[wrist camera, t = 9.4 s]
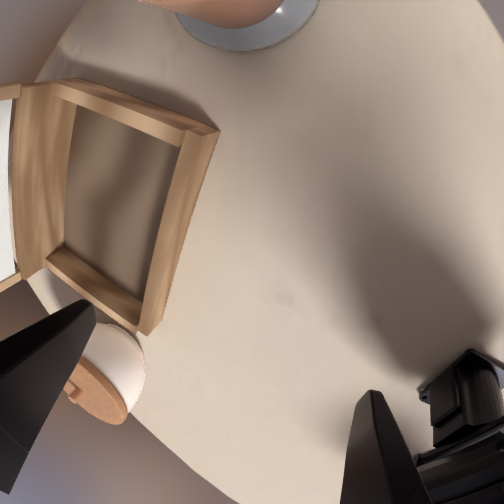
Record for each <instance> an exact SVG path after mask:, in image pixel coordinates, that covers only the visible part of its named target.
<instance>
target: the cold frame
mask: <svg viewBox="0 0 504 504" xmlns="http://www.w3.org/2000/svg"><path fill="white" fill-rule="evenodd" d="M219 134H220V131H219V130H217V129H214V128H212V127H210V126H207V125H205V124H203V123H200V122H198V121H195V120H193V119H191V118H188V117H186V116H183V115H181V114H178V113H176V112H173V111H171V110H168V109H166V108H163V107H160V106H158V105H155V104H153V103H150V102H147V101H144V100H142V99H139V98H136V97H133V96H131V95H128V94H125V93H122V92H119V91H116V90H113V89H110V88H107V87H104V86H101V85H98V84H95V83H92V82H89V81H86V80H83V79H79V78H72V79H62V80H53V81H45V82H38V83H31V84H25V85H21V89H20V96H19V98H17V100H16V108H15V119H14V129H13V145H12V211H13V227H14V238H15V248H16V257H17V265H18V270H19V271H20V273H21V277H22V278H23V279H24V280H26V279H27V278H29V277H30V276H32V275H33V274H34V273H36V272H37V271H39V270H40V269H42V268H43V267H45V266H46V267H47V268H48V269H50V270H51V271H52V272H53V273H54V274H56V275H57V276H58V277H59V278H61V279H62V280H63V281H64V282H65V283H67V284H68V285H69V286H70V287H72V288H73V289H74V290H76V291H77V292H78V293H79V294H81V295H82V296H83V297H85V298H86V299H87V300H88V301H90V302H91V303H93V304H94V305H95V306H96V307H98V308H99V309H100V310H102V311H103V312H105V313H106V314H107V315H109V316H110V317H111V318H113V319H114V320H116V321H117V322H118V323H120V324H121V325H123V326H124V327H126V328H127V329H129V330H130V331H131V332H133V333H134V334H135V333H136V332H137V331H140V332H141V333H143V334H144V335H146V336H148V335H149V334H150V333H151V332H152V331H153V329H154V328H155V327H156V326H157V325H158V324H159V323H160V322H161V321H162V317H163V314H164V310H165V306H166V302H167V299H168V295H169V291H170V288H171V284H172V280H173V277H174V273H175V270H176V266H177V263H178V259H179V256H180V253H181V249H182V246H183V243H184V239H185V236H186V233H187V229H188V226H189V223H190V220H191V217H192V213H193V210H194V207H195V204H196V201H197V198H198V195H199V192H200V189H201V186H202V183H203V180H204V177H205V174H206V171H207V168H208V165H209V162H210V159H211V156H212V154H213V151H214V148H215V145H216V142H217V139H218V137H219Z"/></svg>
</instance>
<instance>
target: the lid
mask: <svg viewBox="0 0 504 504" xmlns="http://www.w3.org/2000/svg"><path fill="white" fill-rule="evenodd" d="M20 89H21V84H20V83H17V82H12V83H5V84H0V292H2V291H3V290H5V289H6V288H8V287H10V286H11V285H13V284H15V283H16V282H18V281H20V280H21V273H20V271H19V270H18V269H17V268H16V267H15V266H14V259H13V251H12V242H11V232H10V220H9V203H8V145H9V128H10V116H11V107H12V99H13V98H19V96H20Z"/></svg>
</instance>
